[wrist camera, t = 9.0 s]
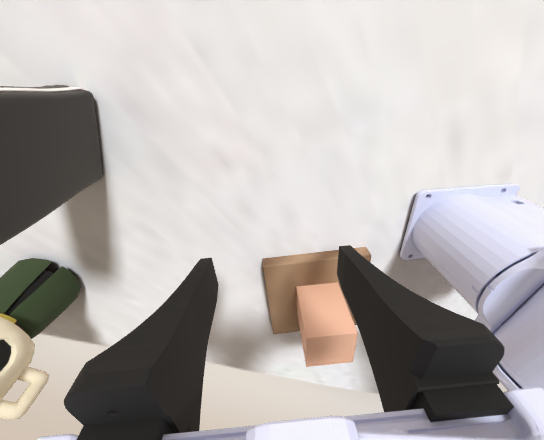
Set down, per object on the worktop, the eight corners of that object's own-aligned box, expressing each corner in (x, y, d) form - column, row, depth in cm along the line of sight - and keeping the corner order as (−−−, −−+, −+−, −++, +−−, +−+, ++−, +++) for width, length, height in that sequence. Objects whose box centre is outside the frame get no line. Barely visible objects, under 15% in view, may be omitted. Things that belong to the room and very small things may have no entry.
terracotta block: (337, 282, 26) (357, 333, 21) (335, 310, 28) (352, 361, 23) (296, 286, 26) (306, 338, 21) (297, 313, 28) (306, 366, 23)
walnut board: (363, 243, 26) (371, 255, 24) (355, 310, 32) (361, 324, 30) (262, 254, 26) (262, 267, 24) (272, 320, 32) (273, 334, 30)
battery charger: (34, 73, 16) (-305, 66, 6) (96, 88, 17) (-127, 102, 7) (55, 170, 20) (-146, 263, 10) (106, 180, 20) (-36, 275, 10)
